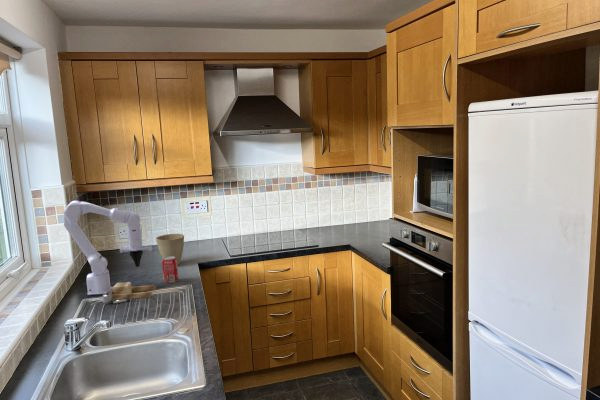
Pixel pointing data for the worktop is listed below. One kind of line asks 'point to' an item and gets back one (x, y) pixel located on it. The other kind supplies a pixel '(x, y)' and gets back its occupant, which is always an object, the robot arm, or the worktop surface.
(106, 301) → the winch drum
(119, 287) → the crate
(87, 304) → the worktop surface
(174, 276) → the soda can
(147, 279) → the worktop surface
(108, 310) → the worktop surface
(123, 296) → the bay
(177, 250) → the plant pot
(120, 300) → the crank handle
